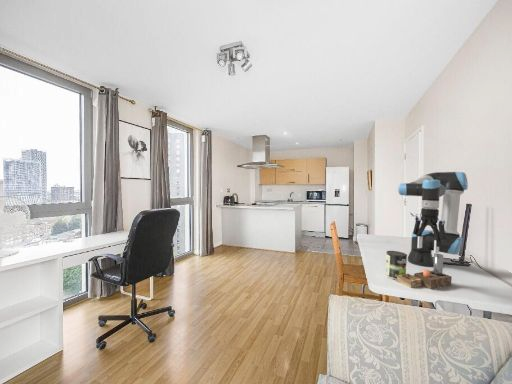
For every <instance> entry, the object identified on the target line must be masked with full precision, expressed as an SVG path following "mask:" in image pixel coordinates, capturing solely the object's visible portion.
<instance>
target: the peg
mask: <svg viewBox="0 0 512 384" xmlns="http://www.w3.org/2000/svg"><path fill="white" fill-rule="evenodd" d="M433 260H434V266H432V267H433V268H432V269H433V270H432V271H433V274H434V275H437V276H439V277H441V276H442V273H443V270H444V269H443V268H444V254H442V253H433Z"/></svg>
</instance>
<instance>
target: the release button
mask: <svg viewBox="0 0 512 384" xmlns="http://www.w3.org/2000/svg"><path fill="white" fill-rule="evenodd" d="M422 270H423V271H422V272H423V276H424V277H427V278H430V271H431V270H429V269H422Z"/></svg>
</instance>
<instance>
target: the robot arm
mask: <svg viewBox="0 0 512 384" xmlns="http://www.w3.org/2000/svg"><path fill="white" fill-rule="evenodd" d="M468 187H469V185H468V177H467V174H466V173H465V172H463V171H444V172H443V171H441V172H439V171H437V172H435V171H434V172H431V173H427V174H424V175H421V176H420V177H419V178H417V179H416V180H413V181H411V182H409V183H408V182H407V183H406V182H404V183H400V184H399V185H398V187H397V188H398V189H397V191H398V195H400V196H405V197H407V196H409V197H411V196H412V197H421V208H420V215H421V216H417V217H415V218H414V219H415V222H414V228H413V231H412V232H411V246H410V248H411V249H410V252H409V254H408V255H407V262H409V263H411V264H413V265H417V266H421V267H433V266H434V256H433V254H440V253H444V254H447V255H453V256H455V255H458V254H459V253H460V251H461V249H462V246H463V241H464V239H463V237H461V234H460V232H458V221H459V213H460V201H461V195H463V194H464V192H465V191H466V190H468ZM441 197H442V205H441V214H440V210H439V209H440V198H441ZM439 214H440V219H439ZM427 226H429V227H430V228H431V230H430V229H426V228H427ZM432 251H433V254H432Z"/></svg>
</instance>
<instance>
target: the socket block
mask: <svg viewBox="0 0 512 384" xmlns="http://www.w3.org/2000/svg"><path fill="white" fill-rule="evenodd" d="M429 271H430V278H427V277H424V276H423V271H421V272H415V273H414V275H413V276H415V277H417V278H420V279H422V285H421V287H424V288H426V289H429V290H434V289H435V288H436V289H440V287H441V288H446V287H451V286H452V277H453V276H451V275H448V274H445V273H443V272H442V276H441V277H439V276H437V275H434V274H433V270H429ZM445 286H446V287H445Z"/></svg>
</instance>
